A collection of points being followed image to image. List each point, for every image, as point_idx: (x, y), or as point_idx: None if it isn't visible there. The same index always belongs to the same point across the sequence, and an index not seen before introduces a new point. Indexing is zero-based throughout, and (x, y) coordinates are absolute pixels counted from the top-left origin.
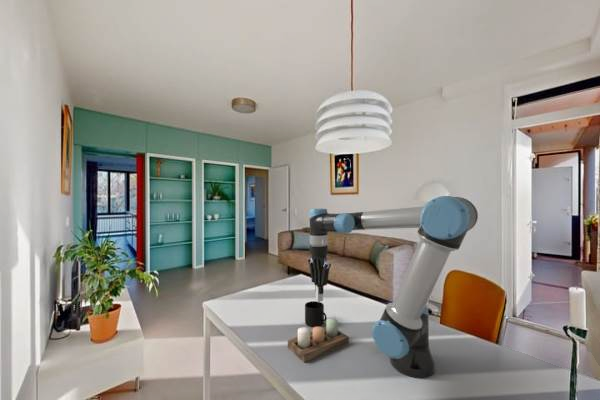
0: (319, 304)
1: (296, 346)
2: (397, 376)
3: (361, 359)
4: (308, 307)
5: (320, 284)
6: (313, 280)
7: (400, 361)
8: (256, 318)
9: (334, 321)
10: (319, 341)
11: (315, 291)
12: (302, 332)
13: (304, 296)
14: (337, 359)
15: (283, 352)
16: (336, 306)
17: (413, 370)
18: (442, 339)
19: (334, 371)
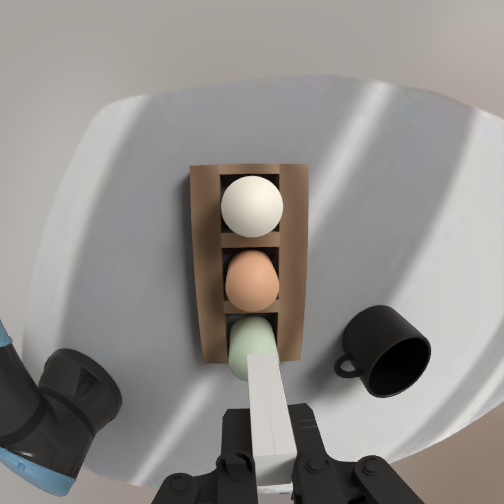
0: (395, 387)
1: (250, 169)
2: (60, 334)
3: (128, 324)
4: (418, 348)
5: (218, 485)
6: (358, 480)
7: (59, 362)
8: (483, 189)
9: (242, 366)
10: (229, 264)
11: (306, 406)
12: (237, 189)
13: (474, 371)
14: (155, 270)
15: (284, 139)
16: (386, 421)
17: (47, 360)
18: (137, 466)
19: (117, 226)
